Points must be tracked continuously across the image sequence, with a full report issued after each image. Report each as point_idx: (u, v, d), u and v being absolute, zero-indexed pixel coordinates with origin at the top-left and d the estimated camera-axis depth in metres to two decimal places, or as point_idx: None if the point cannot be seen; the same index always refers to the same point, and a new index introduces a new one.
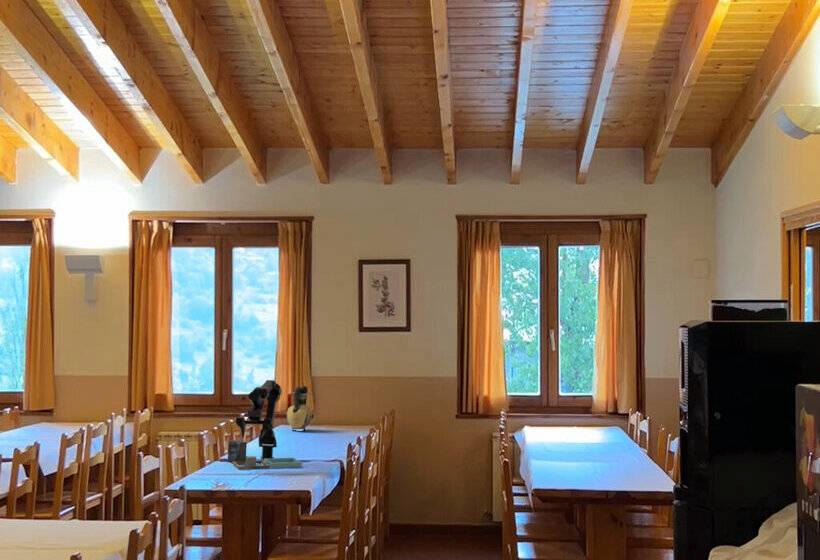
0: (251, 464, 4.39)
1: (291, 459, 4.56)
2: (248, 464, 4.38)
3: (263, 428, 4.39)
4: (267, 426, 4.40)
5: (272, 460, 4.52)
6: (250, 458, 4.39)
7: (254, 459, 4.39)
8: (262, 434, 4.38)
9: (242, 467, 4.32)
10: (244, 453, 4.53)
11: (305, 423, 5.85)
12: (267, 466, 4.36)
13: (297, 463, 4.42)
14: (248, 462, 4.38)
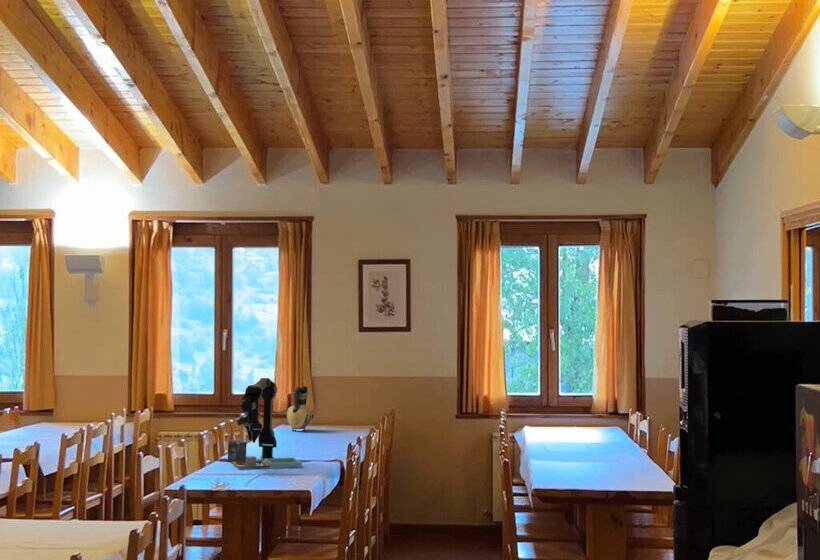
0: (251, 464, 4.39)
1: (291, 459, 4.56)
2: (248, 464, 4.38)
3: (251, 433, 4.36)
4: None
5: (272, 460, 4.52)
6: (250, 458, 4.39)
7: (254, 459, 4.39)
8: (253, 438, 4.37)
9: (242, 467, 4.32)
10: (244, 453, 4.53)
11: (305, 423, 5.85)
12: (267, 466, 4.36)
13: (297, 463, 4.42)
14: (248, 462, 4.38)
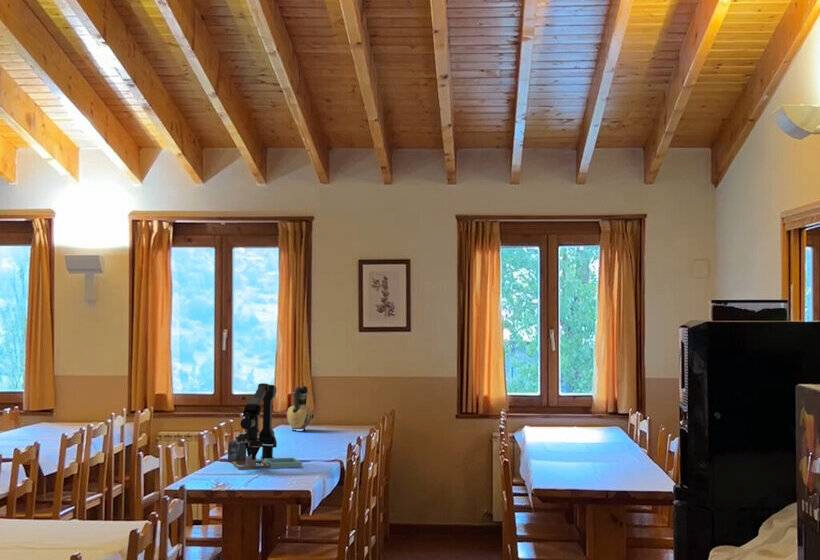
0: (251, 464, 4.39)
1: (291, 459, 4.56)
2: (248, 464, 4.38)
3: (251, 450, 4.36)
4: (254, 447, 4.35)
5: (272, 460, 4.52)
6: (250, 458, 4.39)
7: (254, 459, 4.39)
8: (252, 456, 4.36)
9: (242, 467, 4.32)
10: (244, 453, 4.53)
11: (305, 423, 5.85)
12: (267, 466, 4.36)
13: (297, 463, 4.42)
14: (248, 462, 4.38)
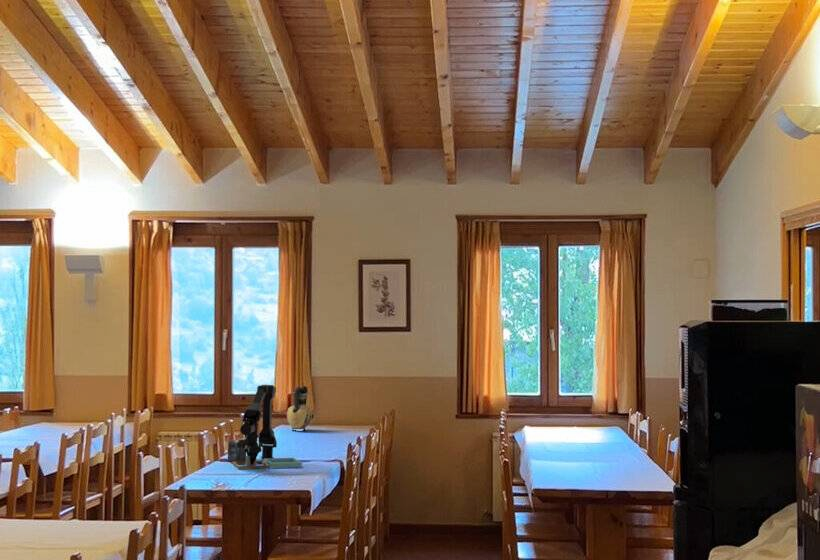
0: None
1: (291, 459, 4.56)
2: (248, 464, 4.38)
3: (249, 455, 4.38)
4: (252, 452, 4.37)
5: (272, 460, 4.52)
6: None
7: None
8: (251, 461, 4.38)
9: (242, 467, 4.32)
10: (244, 453, 4.53)
11: (305, 423, 5.85)
12: (267, 466, 4.36)
13: (297, 463, 4.42)
14: (248, 462, 4.38)
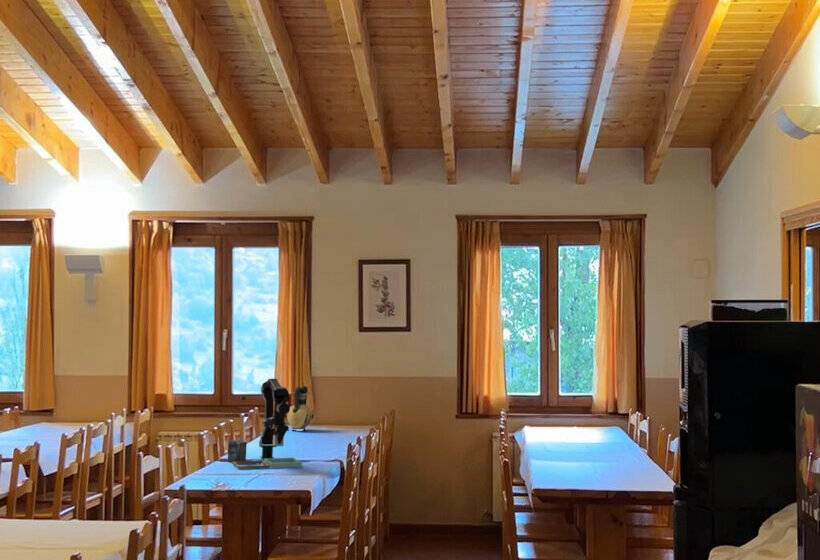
0: None
1: (291, 459, 4.56)
2: (275, 443, 4.44)
3: (277, 434, 4.43)
4: (280, 431, 4.42)
5: (272, 460, 4.52)
6: None
7: None
8: (279, 440, 4.44)
9: (242, 467, 4.32)
10: (244, 453, 4.53)
11: (305, 423, 5.85)
12: (267, 466, 4.36)
13: (297, 463, 4.42)
14: (275, 441, 4.44)
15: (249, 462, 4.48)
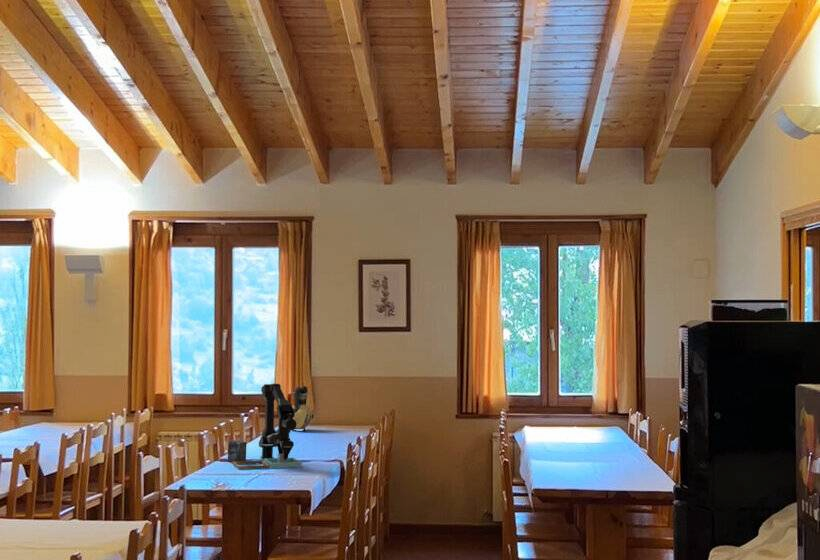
0: (283, 462, 4.45)
1: (291, 459, 4.56)
2: (280, 462, 4.45)
3: (283, 450, 4.42)
4: (286, 447, 4.41)
5: (272, 460, 4.52)
6: (282, 456, 4.45)
7: None
8: (284, 456, 4.42)
9: (242, 467, 4.32)
10: (244, 453, 4.53)
11: (305, 423, 5.85)
12: (267, 466, 4.36)
13: (297, 463, 4.42)
14: (280, 460, 4.45)
15: (249, 462, 4.48)
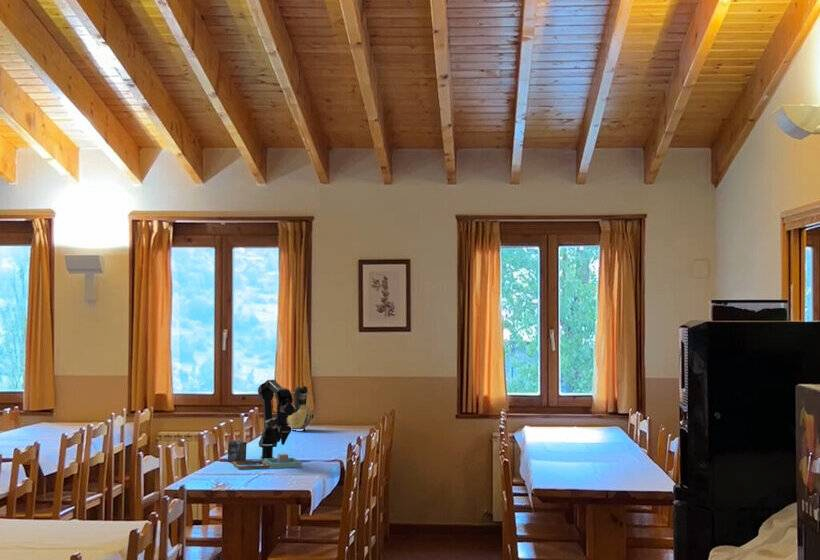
0: (283, 462, 4.45)
1: (291, 459, 4.56)
2: (280, 462, 4.45)
3: (280, 435, 4.46)
4: (283, 432, 4.46)
5: (272, 460, 4.52)
6: (282, 456, 4.45)
7: (286, 457, 4.46)
8: (282, 441, 4.47)
9: (242, 467, 4.32)
10: (244, 453, 4.53)
11: (305, 423, 5.85)
12: (267, 466, 4.36)
13: (297, 463, 4.42)
14: (280, 460, 4.45)
15: (249, 462, 4.48)
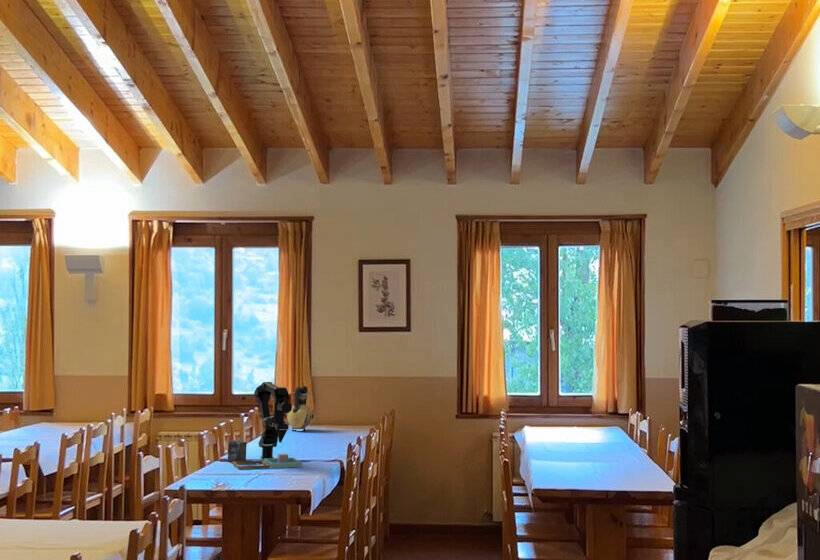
0: (283, 462, 4.45)
1: (291, 459, 4.56)
2: (280, 462, 4.45)
3: (278, 433, 4.51)
4: (281, 430, 4.50)
5: (272, 460, 4.52)
6: (282, 456, 4.45)
7: (286, 457, 4.46)
8: (279, 438, 4.51)
9: (242, 467, 4.32)
10: (244, 453, 4.53)
11: (305, 423, 5.85)
12: (267, 466, 4.36)
13: (297, 463, 4.42)
14: (280, 460, 4.45)
15: (249, 462, 4.48)
